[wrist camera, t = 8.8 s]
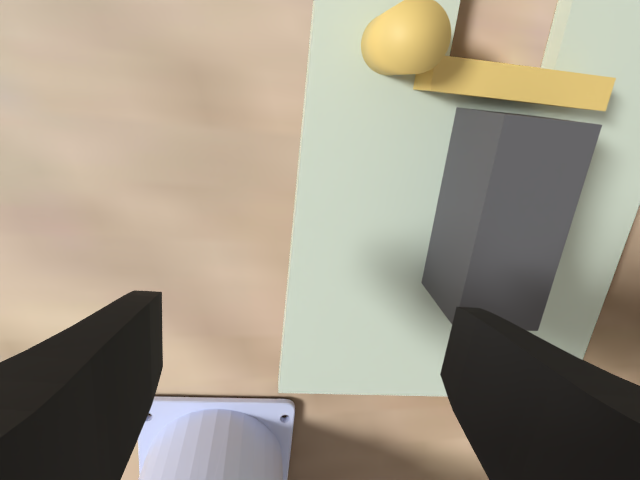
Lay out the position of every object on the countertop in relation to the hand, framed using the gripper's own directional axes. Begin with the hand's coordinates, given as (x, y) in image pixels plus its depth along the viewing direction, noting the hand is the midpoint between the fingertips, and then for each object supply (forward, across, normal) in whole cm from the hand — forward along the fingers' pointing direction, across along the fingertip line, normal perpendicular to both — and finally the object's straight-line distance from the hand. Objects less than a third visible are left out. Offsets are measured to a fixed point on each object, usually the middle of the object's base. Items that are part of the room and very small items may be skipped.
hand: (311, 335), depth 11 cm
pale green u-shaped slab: (+10, -8, -1) cm, 13 cm away
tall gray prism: (+9, -8, -2) cm, 12 cm away
